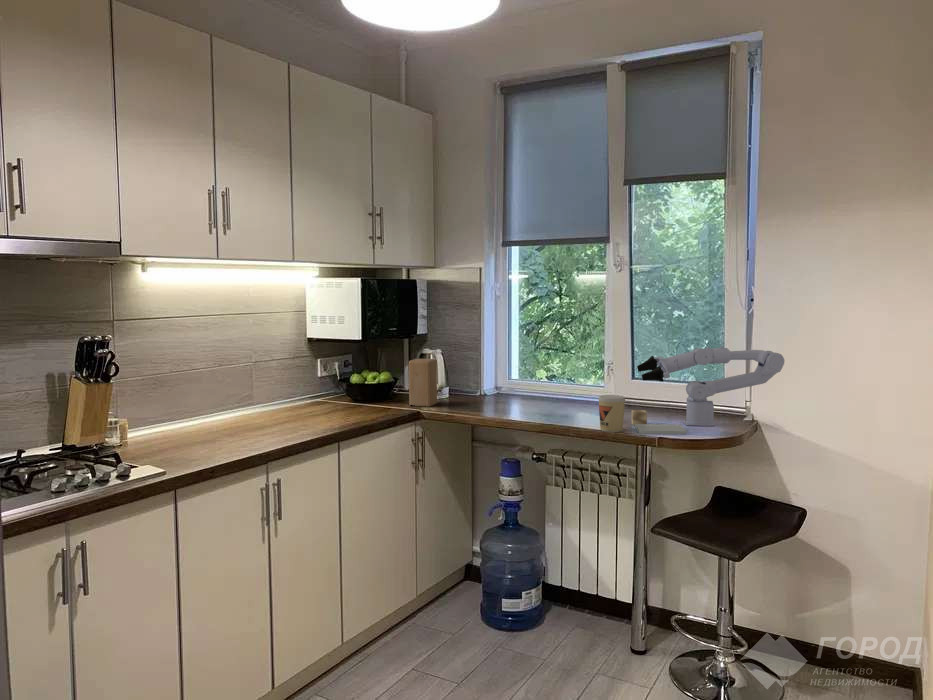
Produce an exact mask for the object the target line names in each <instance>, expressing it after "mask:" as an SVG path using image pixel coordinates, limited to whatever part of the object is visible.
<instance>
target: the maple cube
mask: <svg viewBox="0 0 933 700" xmlns="http://www.w3.org/2000/svg"><path fill="white" fill-rule="evenodd" d="M630 423H631V425H632V424H633V425H635V424H648V413H647V410H645V409H631V422H630ZM633 425H632V426H633Z"/></svg>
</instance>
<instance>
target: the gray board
mask: <svg viewBox="0 0 933 700" xmlns="http://www.w3.org/2000/svg"><path fill="white" fill-rule="evenodd" d="M634 427H636V428H635V429H636V431H637V432H639V433H638V434H639V435H676V434H688V431H687V429H686V428H684V427H683V426H682V425H681V424H661V423H659V424H658V423H656V424H655V423H652V424H651V423H649V424H648V423H647V424H635V426H634Z"/></svg>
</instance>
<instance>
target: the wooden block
mask: <svg viewBox="0 0 933 700" xmlns="http://www.w3.org/2000/svg"><path fill="white" fill-rule="evenodd" d="M437 363H438V361H437V359H436V358H415V359H411V360H409V361H408V395H409V396H408V401H409V402H408V403H409V406H410V405H415V406H414V407H418V406H428V407H427V408H430V407H432V406H434V405H436V404H438V366H437V365H438V364H437ZM429 406H430V407H429Z"/></svg>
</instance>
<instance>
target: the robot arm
mask: <svg viewBox="0 0 933 700" xmlns="http://www.w3.org/2000/svg"><path fill="white" fill-rule="evenodd" d="M731 360H732V361H742V360H743V361H754V362H756V363H757V366H756V368H755V369H754V371H752V372H747V373H742V374H736V375H733V376H729V377H728V376H727V377H723V378H718V379H713V380H703V381H698V380H691V381H689V382H688V383H687V384H686V386H685V391H686V394H687V395H688V397H686V415H685V416H686V418H685V420H683V423H684V424H685V425H686V426H691V427H692V426H698V427H699V426H700V427H701V426H702V427H705V426H706V427H707V426H708V427H714V426H715V425H714V414H715V413H714V411H715V410H714V408H715V406H714V405H715V404H714V401H713V400H708V397H713V396H715V394H720V393H725V392H729V391H734V390H735V391H736V390H739V389H744V388H748V387H750V388H751V387H752V386H753V387H754V386H758V385H764V384H767V382H768V381H769V380H770V379H772V378H773V377H774V376H775V375H776V374H778V373H780V372H781V371H782V370H783V367H784V365H785V361H786V360H785V358H784V356H783V355H782V354H781V353H779V352H773V351H772V350H763V349H747V350H746V349H745V350H730V349H729V348H727V347H724V346H721V345H720V346H719V347H715V348H713V347H712V348H711V347H709V346H706V348H701V347H695V348H694V349H693V350H692V351H688V352H682V353H680V354H675V355H671V356H668V357H665V358H663V356H655V357H654V355H651V356H650V357H648V359H647V360H645V361H644V362H642V363H639V364H638V365H637V366H636V368H637V371H638V372H639V373H640V372H645V371H646V372H645V373H643V374H641V379H642V381H657V382H664V379H669V378H670V374H672V373H675V372H680V371H682V370H686V369H689V368H692V367H695V366H698V365H701V366H706V365H708V364H709V365H712V364H713V365H715V364H716V365H717V364H720V365H723V364H728V363H730V362H731Z"/></svg>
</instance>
